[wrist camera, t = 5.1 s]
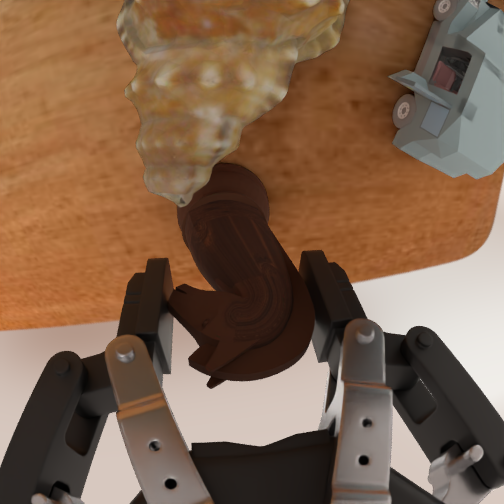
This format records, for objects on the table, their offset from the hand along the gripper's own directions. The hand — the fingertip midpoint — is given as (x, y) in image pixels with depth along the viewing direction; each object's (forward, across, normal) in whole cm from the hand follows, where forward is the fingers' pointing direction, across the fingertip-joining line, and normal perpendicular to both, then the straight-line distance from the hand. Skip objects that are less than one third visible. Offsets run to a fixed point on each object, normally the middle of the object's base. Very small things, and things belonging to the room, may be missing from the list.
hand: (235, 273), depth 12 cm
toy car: (+6, -10, -8) cm, 14 cm away
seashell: (+5, 0, -8) cm, 10 cm away
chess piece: (+6, 0, 0) cm, 6 cm away
